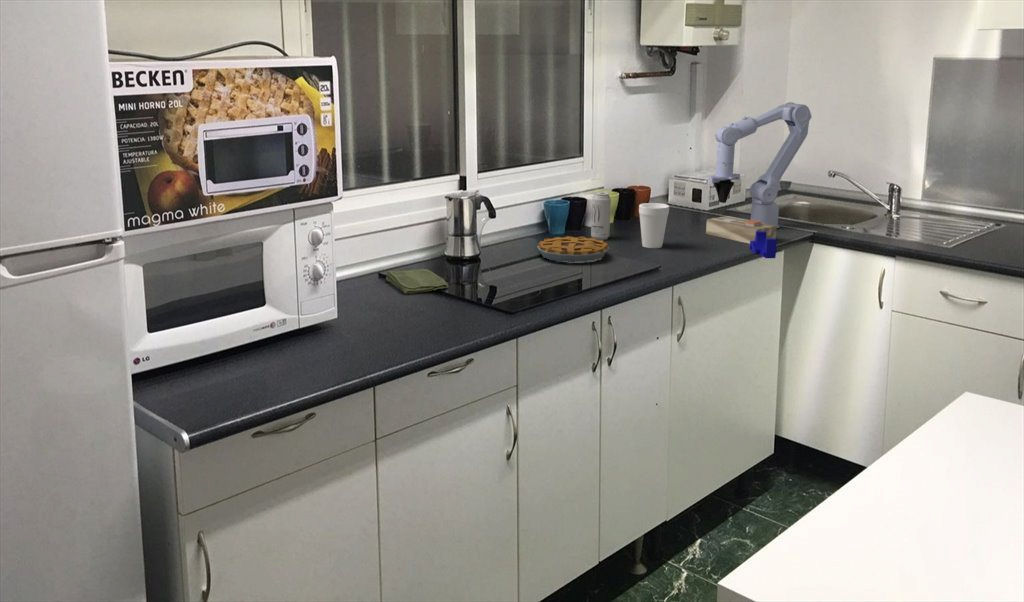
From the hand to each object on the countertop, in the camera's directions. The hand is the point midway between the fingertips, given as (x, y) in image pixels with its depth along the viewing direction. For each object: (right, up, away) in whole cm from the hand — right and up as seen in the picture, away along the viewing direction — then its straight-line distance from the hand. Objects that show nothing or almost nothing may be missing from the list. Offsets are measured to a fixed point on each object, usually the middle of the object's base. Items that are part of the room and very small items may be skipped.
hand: (722, 202), depth 337 cm
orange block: (+7, -12, -14) cm, 20 cm away
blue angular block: (+5, -20, -32) cm, 38 cm away
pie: (-54, -21, -38) cm, 69 cm away
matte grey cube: (+1, -11, -6) cm, 13 cm away
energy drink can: (-43, -13, -13) cm, 47 cm away
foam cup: (-27, -16, -23) cm, 39 cm away
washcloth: (-98, -30, -71) cm, 124 cm away
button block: (+4, -13, -10) cm, 16 cm away
